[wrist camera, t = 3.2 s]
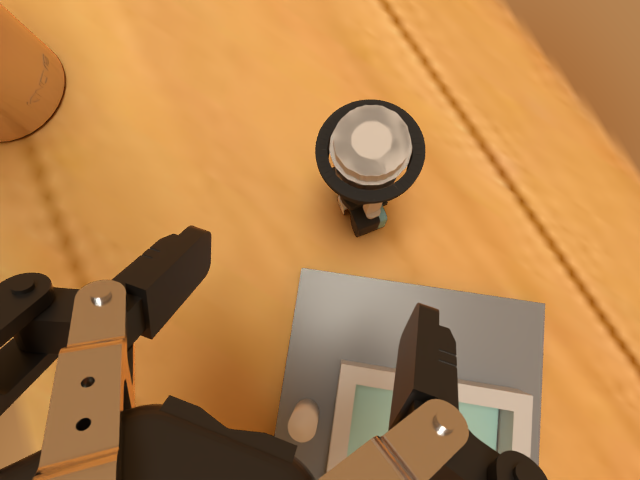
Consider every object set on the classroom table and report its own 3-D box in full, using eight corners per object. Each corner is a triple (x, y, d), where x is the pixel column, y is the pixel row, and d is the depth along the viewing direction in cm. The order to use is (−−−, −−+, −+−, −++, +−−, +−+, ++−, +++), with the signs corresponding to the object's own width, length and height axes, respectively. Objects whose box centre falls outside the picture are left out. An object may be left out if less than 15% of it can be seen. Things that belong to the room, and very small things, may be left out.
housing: (250, 593, 22) (231, 653, 18) (303, 269, 26) (296, 261, 22) (521, 653, 21) (562, 730, 17) (536, 303, 25) (574, 302, 21)
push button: (306, 167, 28) (288, 87, 18) (373, 142, 28) (391, 49, 18) (339, 249, 26) (339, 212, 16) (408, 222, 26) (449, 169, 16)
